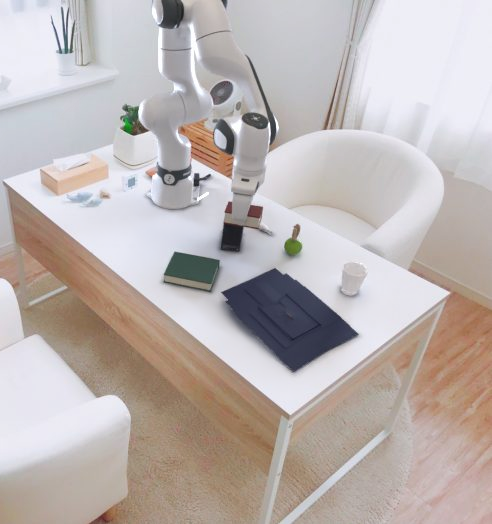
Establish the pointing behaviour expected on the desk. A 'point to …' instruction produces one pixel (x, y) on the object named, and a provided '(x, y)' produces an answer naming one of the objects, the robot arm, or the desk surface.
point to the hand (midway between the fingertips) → (243, 217)
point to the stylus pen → (265, 228)
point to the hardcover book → (192, 271)
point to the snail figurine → (293, 242)
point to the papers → (288, 317)
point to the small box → (231, 237)
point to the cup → (352, 277)
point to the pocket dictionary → (251, 220)
